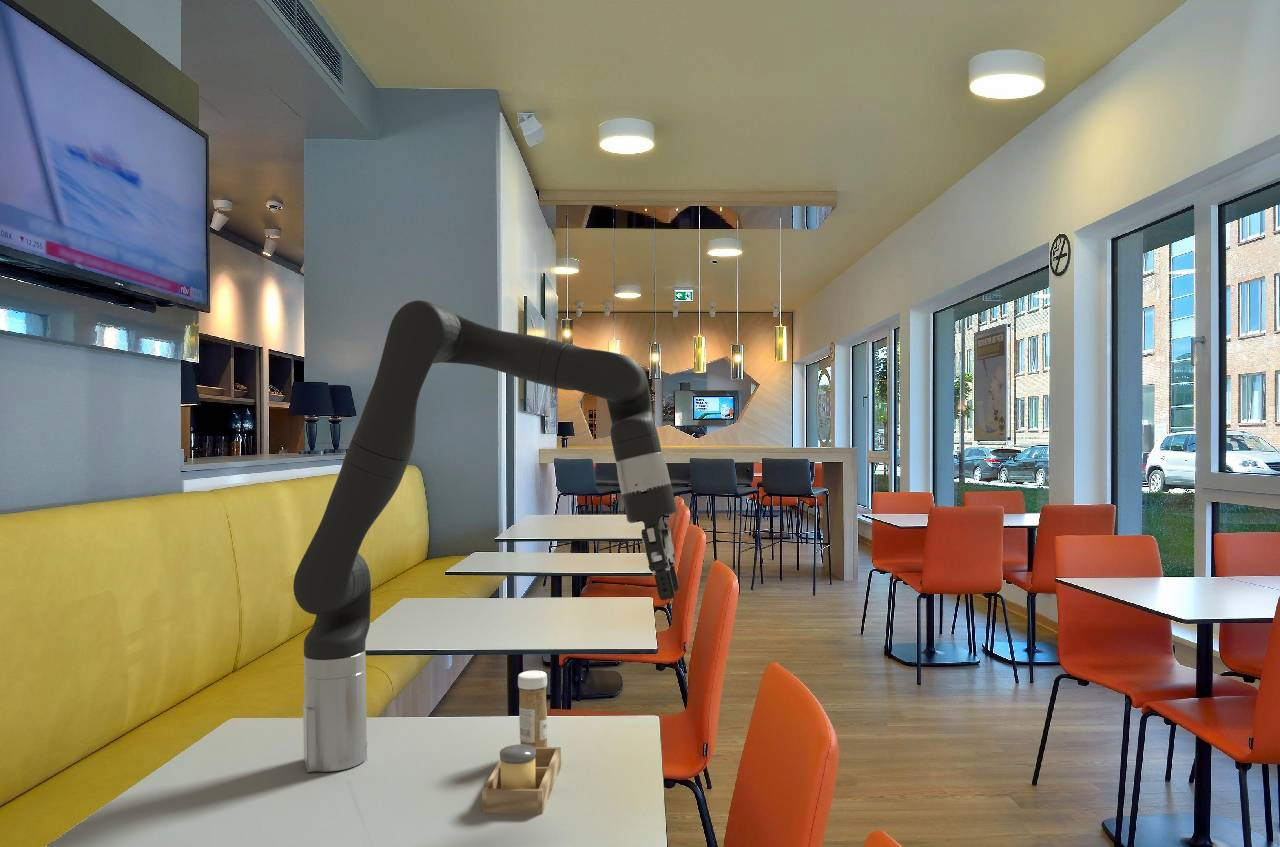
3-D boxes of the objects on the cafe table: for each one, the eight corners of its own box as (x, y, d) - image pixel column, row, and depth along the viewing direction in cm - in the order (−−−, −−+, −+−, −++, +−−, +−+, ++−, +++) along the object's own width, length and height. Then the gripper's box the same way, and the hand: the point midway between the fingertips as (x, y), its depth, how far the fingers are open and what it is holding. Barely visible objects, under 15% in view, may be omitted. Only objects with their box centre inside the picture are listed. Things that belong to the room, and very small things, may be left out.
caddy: (542, 817, 116) (542, 790, 116) (482, 816, 117) (481, 790, 117) (561, 770, 132) (560, 747, 132) (508, 769, 132) (507, 746, 132)
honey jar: (506, 810, 117) (505, 760, 117) (495, 796, 121) (495, 748, 122) (541, 802, 119) (540, 753, 119) (529, 789, 124) (529, 742, 124)
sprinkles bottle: (553, 759, 136) (551, 674, 136) (527, 766, 133) (525, 679, 134) (540, 751, 140) (538, 667, 140) (514, 757, 137) (513, 672, 137)
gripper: (627, 492, 136) (650, 594, 134) (614, 493, 122) (639, 607, 120) (673, 481, 135) (697, 584, 133) (666, 481, 121) (692, 596, 119)
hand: (670, 595), depth 127 cm, fingers open, 8 cm apart
